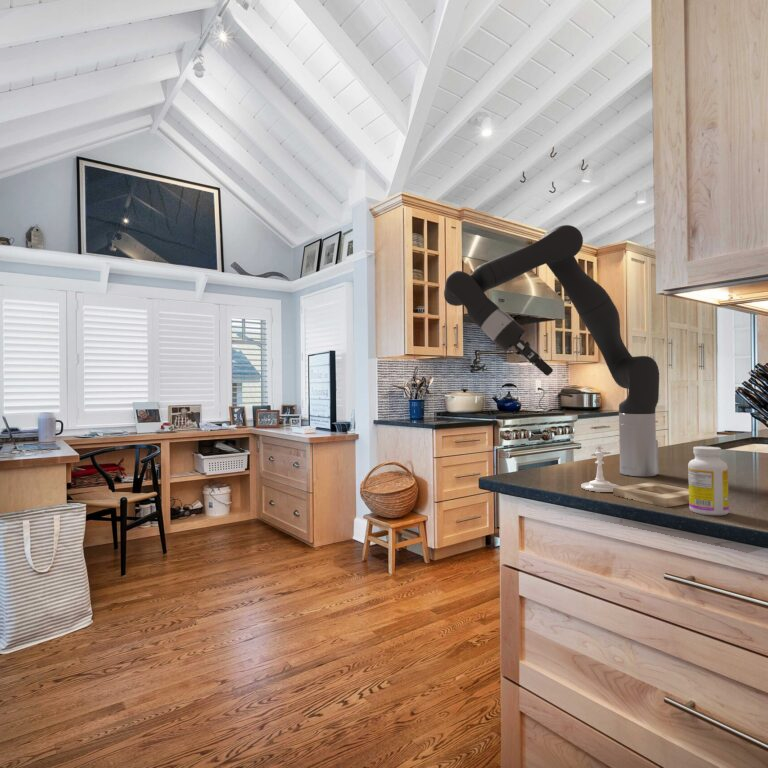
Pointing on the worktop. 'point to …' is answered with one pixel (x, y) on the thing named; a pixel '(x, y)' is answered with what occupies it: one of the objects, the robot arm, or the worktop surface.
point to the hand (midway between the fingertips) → (550, 373)
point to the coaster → (598, 489)
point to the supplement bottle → (708, 482)
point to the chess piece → (599, 471)
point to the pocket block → (654, 494)
